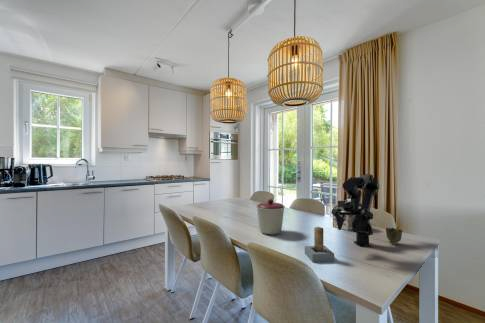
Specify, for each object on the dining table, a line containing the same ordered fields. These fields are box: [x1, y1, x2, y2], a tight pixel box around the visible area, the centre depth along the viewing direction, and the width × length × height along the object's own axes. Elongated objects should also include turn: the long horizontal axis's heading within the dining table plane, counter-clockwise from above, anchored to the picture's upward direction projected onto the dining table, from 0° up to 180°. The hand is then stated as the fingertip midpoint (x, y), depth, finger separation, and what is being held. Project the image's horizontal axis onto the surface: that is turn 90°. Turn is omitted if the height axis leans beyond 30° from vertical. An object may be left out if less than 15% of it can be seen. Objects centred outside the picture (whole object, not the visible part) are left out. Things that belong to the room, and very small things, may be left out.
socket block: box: [304, 244, 335, 263], centre depth 107 cm, size 10×10×4 cm
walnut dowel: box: [313, 226, 324, 252], centre depth 107 cm, size 4×4×13 cm
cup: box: [385, 227, 403, 246], centre depth 124 cm, size 8×7×8 cm
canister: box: [255, 198, 286, 236], centre depth 145 cm, size 18×18×21 cm
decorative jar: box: [332, 199, 355, 232], centre depth 155 cm, size 12×12×18 cm
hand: (347, 230), depth 107 cm, fingers open, 9 cm apart
